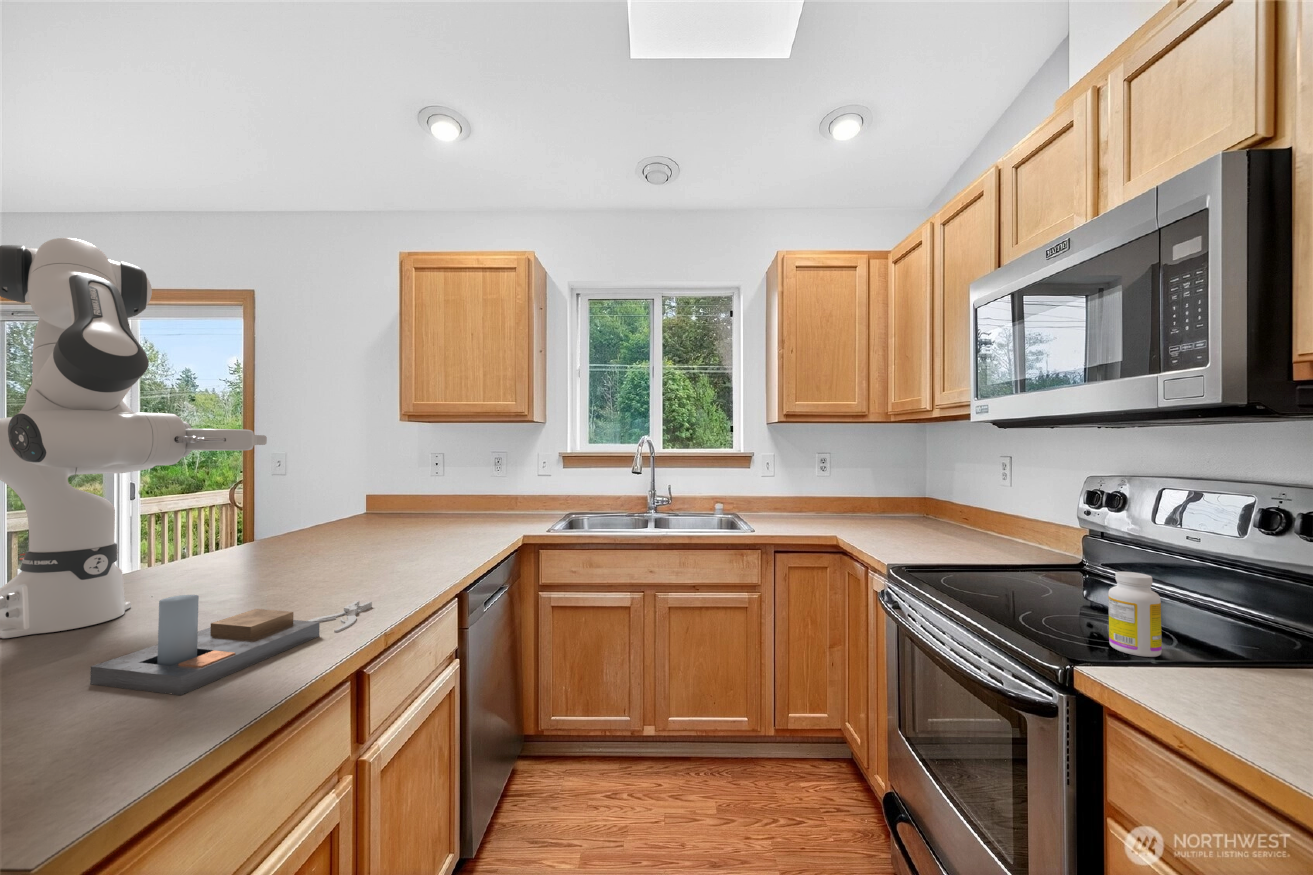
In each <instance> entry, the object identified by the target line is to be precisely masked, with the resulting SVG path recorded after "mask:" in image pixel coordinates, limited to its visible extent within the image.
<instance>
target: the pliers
mask: <svg viewBox="0 0 1313 875" xmlns="http://www.w3.org/2000/svg"><path fill="white" fill-rule="evenodd" d="M372 607H373V602H372V601H367V602H364V603H361V604H360V600H354V602H351V603H349V604H347V605H346V606H344V607H343V611H342V612H338V613H334V614H328V615H324V616H323V615H322V616H317V617H314V618H311V619H308V620H306V621H313V622H320V623H323V622H324V623H325V622H330V621H334V620H336V619H337V618H339V617H340V623H342V625H340V626H339V627H337V628H336V629H335V630H334V633H339V632H341V631H343V630H345V629H348V628H350V627H351V626H352V625H354V624H355V623H356V621H357V614H359V613H362V612H364V611H367V610H369V609H371V608H372ZM342 616H346V619H347V620H344V619H343V617H342Z"/></svg>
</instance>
